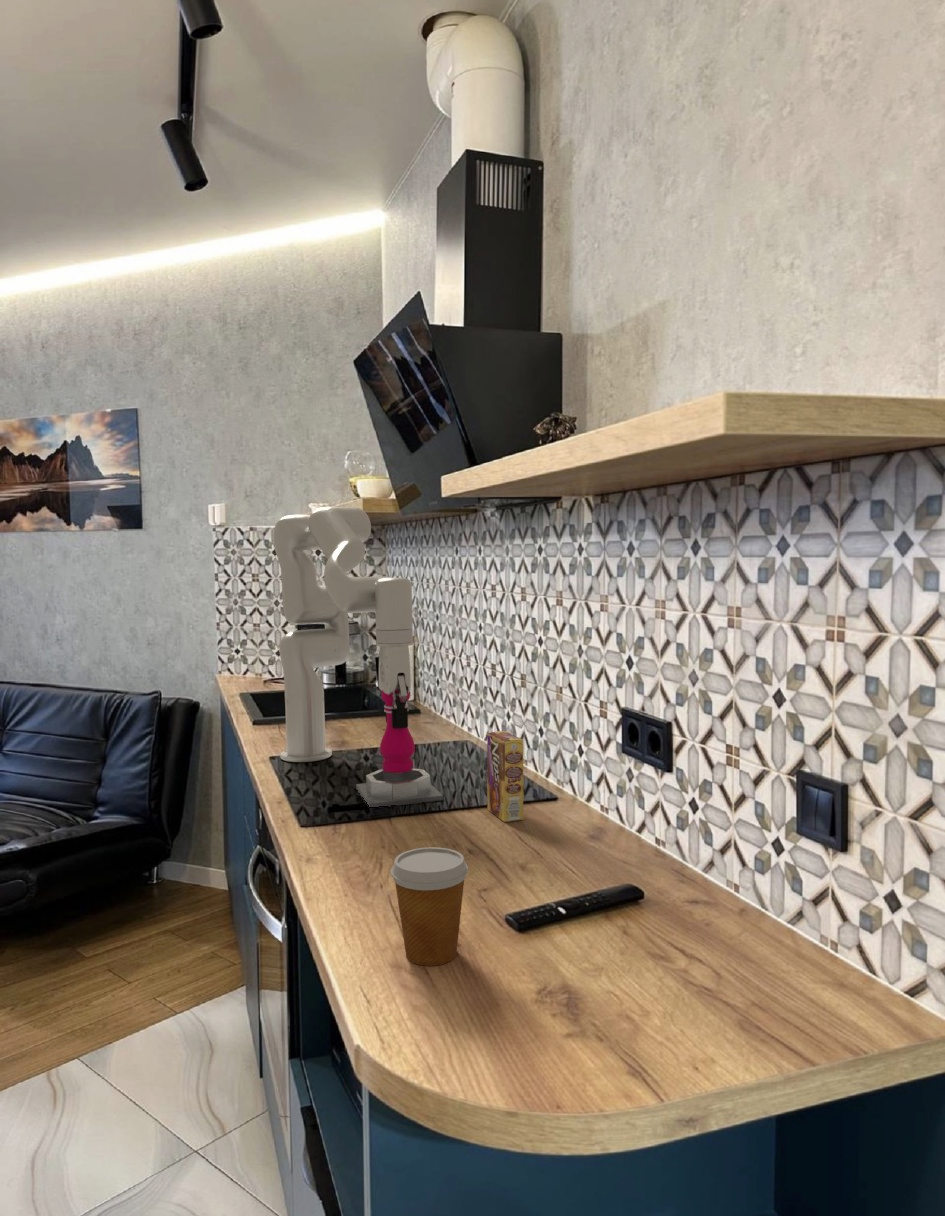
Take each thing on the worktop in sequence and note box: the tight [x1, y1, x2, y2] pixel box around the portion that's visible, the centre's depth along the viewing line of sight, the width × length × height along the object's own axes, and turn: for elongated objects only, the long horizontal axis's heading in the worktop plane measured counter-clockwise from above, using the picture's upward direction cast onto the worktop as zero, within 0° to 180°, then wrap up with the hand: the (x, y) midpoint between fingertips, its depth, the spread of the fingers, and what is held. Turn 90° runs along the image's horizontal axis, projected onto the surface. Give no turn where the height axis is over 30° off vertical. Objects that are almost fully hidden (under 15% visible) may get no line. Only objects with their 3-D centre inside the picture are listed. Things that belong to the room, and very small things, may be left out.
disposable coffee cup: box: [390, 846, 469, 967], centre depth 103 cm, size 10×10×12 cm
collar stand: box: [355, 767, 444, 808], centre depth 174 cm, size 15×15×4 cm
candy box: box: [486, 730, 525, 823], centre depth 159 cm, size 9×4×15 cm, turn 20°
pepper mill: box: [379, 683, 416, 773], centre depth 173 cm, size 7×7×20 cm
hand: (396, 724), depth 173 cm, fingers closed on pepper mill, 5 cm apart
